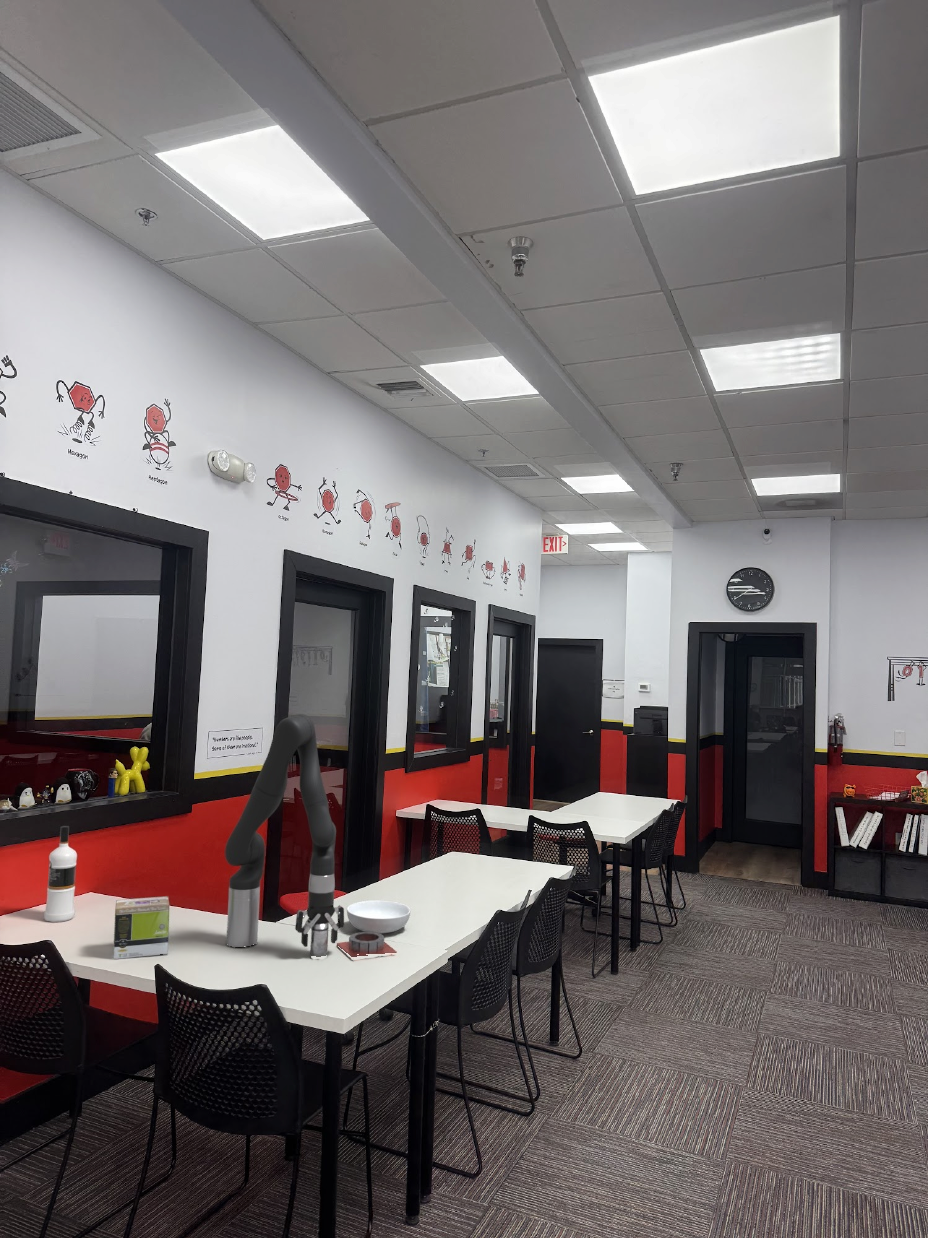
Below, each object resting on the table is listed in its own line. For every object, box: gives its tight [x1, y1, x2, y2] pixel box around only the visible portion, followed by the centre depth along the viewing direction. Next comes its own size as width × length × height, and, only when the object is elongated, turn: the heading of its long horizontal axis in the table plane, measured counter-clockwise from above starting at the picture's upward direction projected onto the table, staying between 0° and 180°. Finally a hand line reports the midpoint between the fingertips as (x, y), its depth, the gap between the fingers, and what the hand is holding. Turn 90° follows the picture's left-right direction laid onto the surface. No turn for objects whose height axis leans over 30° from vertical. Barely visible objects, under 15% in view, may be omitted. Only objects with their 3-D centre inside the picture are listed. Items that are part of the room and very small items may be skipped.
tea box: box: [113, 895, 170, 960], centre depth 252 cm, size 15×10×15 cm, turn 111°
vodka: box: [43, 825, 78, 923], centre depth 282 cm, size 9×9×30 cm
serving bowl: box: [346, 899, 411, 935], centre depth 281 cm, size 21×21×7 cm
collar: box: [336, 931, 398, 957], centre depth 260 cm, size 14×14×4 cm
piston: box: [309, 922, 330, 957], centre depth 253 cm, size 5×5×10 cm
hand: (319, 944), depth 253 cm, fingers open, 8 cm apart
